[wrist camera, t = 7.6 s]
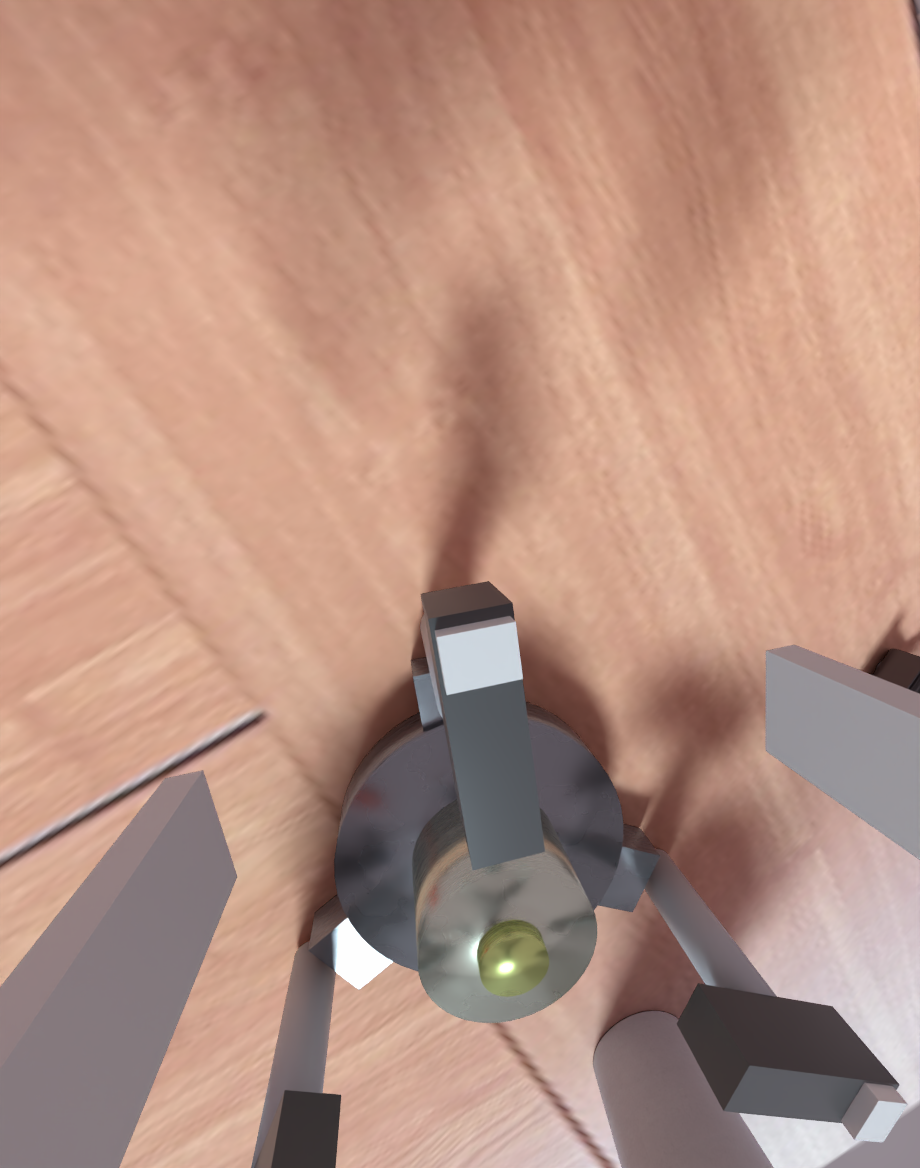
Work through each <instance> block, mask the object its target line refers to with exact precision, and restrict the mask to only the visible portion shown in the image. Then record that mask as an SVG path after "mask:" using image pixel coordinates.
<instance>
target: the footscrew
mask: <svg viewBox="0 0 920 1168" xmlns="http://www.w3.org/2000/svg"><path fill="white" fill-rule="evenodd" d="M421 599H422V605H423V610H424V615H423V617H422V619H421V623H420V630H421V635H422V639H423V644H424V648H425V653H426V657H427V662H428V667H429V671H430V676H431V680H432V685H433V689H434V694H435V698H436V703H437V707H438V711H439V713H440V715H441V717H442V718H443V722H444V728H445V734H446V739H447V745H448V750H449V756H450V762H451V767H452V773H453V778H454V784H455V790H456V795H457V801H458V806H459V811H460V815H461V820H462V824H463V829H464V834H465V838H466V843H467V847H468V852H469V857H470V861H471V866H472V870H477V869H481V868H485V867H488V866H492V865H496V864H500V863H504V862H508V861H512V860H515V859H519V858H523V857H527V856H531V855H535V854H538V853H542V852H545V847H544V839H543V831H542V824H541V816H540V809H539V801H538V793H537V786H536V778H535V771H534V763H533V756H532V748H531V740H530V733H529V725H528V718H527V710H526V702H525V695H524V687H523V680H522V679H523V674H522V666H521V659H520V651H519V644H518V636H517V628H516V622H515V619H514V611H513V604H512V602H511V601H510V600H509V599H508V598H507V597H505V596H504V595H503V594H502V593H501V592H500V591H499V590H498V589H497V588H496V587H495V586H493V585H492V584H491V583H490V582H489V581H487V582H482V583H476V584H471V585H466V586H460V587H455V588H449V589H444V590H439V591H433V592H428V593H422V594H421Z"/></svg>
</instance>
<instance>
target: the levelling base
mask: <svg viewBox="0 0 920 1168" xmlns="http://www.w3.org/2000/svg"><path fill="white" fill-rule="evenodd" d="M411 665H412V673H413V680H414V685H415V690H416V695H417V701H418V706H419V711H420V712H419V713H417V714H415V715H414V716H412V717H410V718H408V719H406V720H405V721H403V722H402V723H400V724H399V725H398V726H396V727H395V728H393V729H392V730H391V731H389V732H388V733H387V734H386V735H385V736H384V737H383V738H382V739H381V740H380V741H379V742H377V743H376V744H375V746H374V747H373V748H372V749H371V750H370V752H369V753H368V754H367V755H366V756H365V758H364V759H363V760H362V762H361V764H360V765H359V767H358V768H357V770H356V772H355V773H354V775H353V777H352V780H351V782H350V784H349V786H348V788H347V792H346V795H345V798H344V802H343V805H342V812H341V819H340V825H339V832H338V838H337V845H336V852H335V859H334V869H335V883H336V888H337V895H336V896H335V897H334V898H332V899H331V900H330V901H329V902H328V903H326V904H325V905H324V906H323V907H321V908H320V909H319V910H318V911H317V912H315V915H314V920H313V926H312V932H311V937H310V943H309V949H308V951H309V952H311V953H312V954H313V955H314V956H316V957H317V958H318V959H320V960H321V961H322V962H324V963H325V964H326V965H327V966H329V967H330V968H331V969H333V970H334V971H335V972H337V973H338V974H339V975H340V976H342V977H343V978H344V979H346V980H347V981H348V982H350V983H351V984H352V985H354V986H355V987H356V988H357V989H360V988H361V987H363V986H364V985H365V984H366V983H368V982H369V981H370V980H371V979H372V978H374V977H375V976H376V975H377V974H379V973H380V972H381V971H382V970H384V969H385V968H386V967H387V966H388V965H390V964H391V963H392V962H395V963H397V964H399V965H401V966H404V967H407V968H410V969H413V970H416V971H419V976H420V979H421V982H422V985H423V987H424V989H425V991H426V993H427V994H428V995H429V997H430V998H431V999H432V1000H433V1001H434V1002H435V1003H436V1004H437V1005H438V1006H439V1007H440V1008H442V1009H443V1010H445V1011H446V1012H448V1013H450V1014H452V1015H454V1016H456V1017H458V1018H461V1019H464V1020H468V1021H474V1022H482V1023H499V1022H506V1021H512V1020H516V1019H520V1018H523V1017H526V1016H529V1015H531V1014H534V1013H536V1012H538V1011H540V1010H542V1009H544V1008H546V1007H547V1006H549V1005H551V1004H552V1003H554V1002H555V1001H557V1000H558V999H559V998H561V997H562V996H563V995H564V994H565V993H566V992H568V991H569V990H570V989H571V988H572V987H573V986H574V984H575V983H576V982H577V981H578V980H579V978H580V977H581V976H582V974H583V973H584V972H585V970H586V968H587V966H588V964H589V963H590V960H591V958H592V955H593V953H594V949H595V945H596V939H597V922H596V917H595V913H594V910H595V908H596V907H597V905H599V906H604V907H609V908H614V909H619V910H624V911H629V912H633V910H634V908H635V906H636V904H637V902H638V900H639V898H640V896H641V894H642V892H643V890H644V888H645V886H646V884H647V882H648V880H649V878H650V876H651V874H652V872H653V870H654V868H655V866H656V864H657V862H658V860H659V858H660V854H659V853H658V852H657V850H656V849H655V848H654V846H653V845H652V844H651V842H650V841H649V840H648V838H647V837H646V836H645V834H644V833H643V831H642V830H641V829H640V828H637V827H633V826H629V825H625V824H623V817H622V810H621V805H620V802H619V799H618V795H617V792H616V790H615V788H614V786H613V784H612V782H611V780H610V778H609V776H608V774H607V773H606V772H605V770H604V769H603V767H602V766H601V765H600V763H599V762H598V761H597V759H596V758H595V757H594V755H593V754H592V753H591V752H590V750H589V749H588V748H587V746H586V745H585V744H584V742H583V741H582V740H581V739H580V737H579V736H578V735H577V734H576V733H575V732H574V731H573V730H572V729H571V728H570V727H569V726H568V725H567V724H566V723H565V722H563V721H562V720H561V719H559V718H558V717H557V716H555V715H554V714H552V713H550V712H548V711H546V710H545V709H543V708H541V707H538V706H535V705H533V704H530V703H528V702H526V710H527V718H528V725H529V733H530V740H531V748H532V756H533V763H534V771H535V778H536V786H537V793H538V801H539V809H540V816H541V824H542V831H543V839H544V847H545V852H542V853H538V854H535V855H531V856H527V857H523V858H519V859H515V860H512V861H508V862H504V863H500V864H496V865H492V866H488V867H485V868H481V869H477V870H472V866H471V861H470V857H469V852H468V847H467V843H466V838H465V834H464V829H463V824H462V820H461V815H460V811H459V806H458V801H457V795H456V790H455V784H454V778H453V773H452V767H451V762H450V756H449V750H448V745H447V739H446V734H445V728H444V722H443V718H442V717H441V715H440V713H439V711H438V707H437V703H436V698H435V694H434V689H433V685H432V680H431V676H430V671H429V667H428V662H427V657H424V658H419V659H414V660H411Z"/></svg>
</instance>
